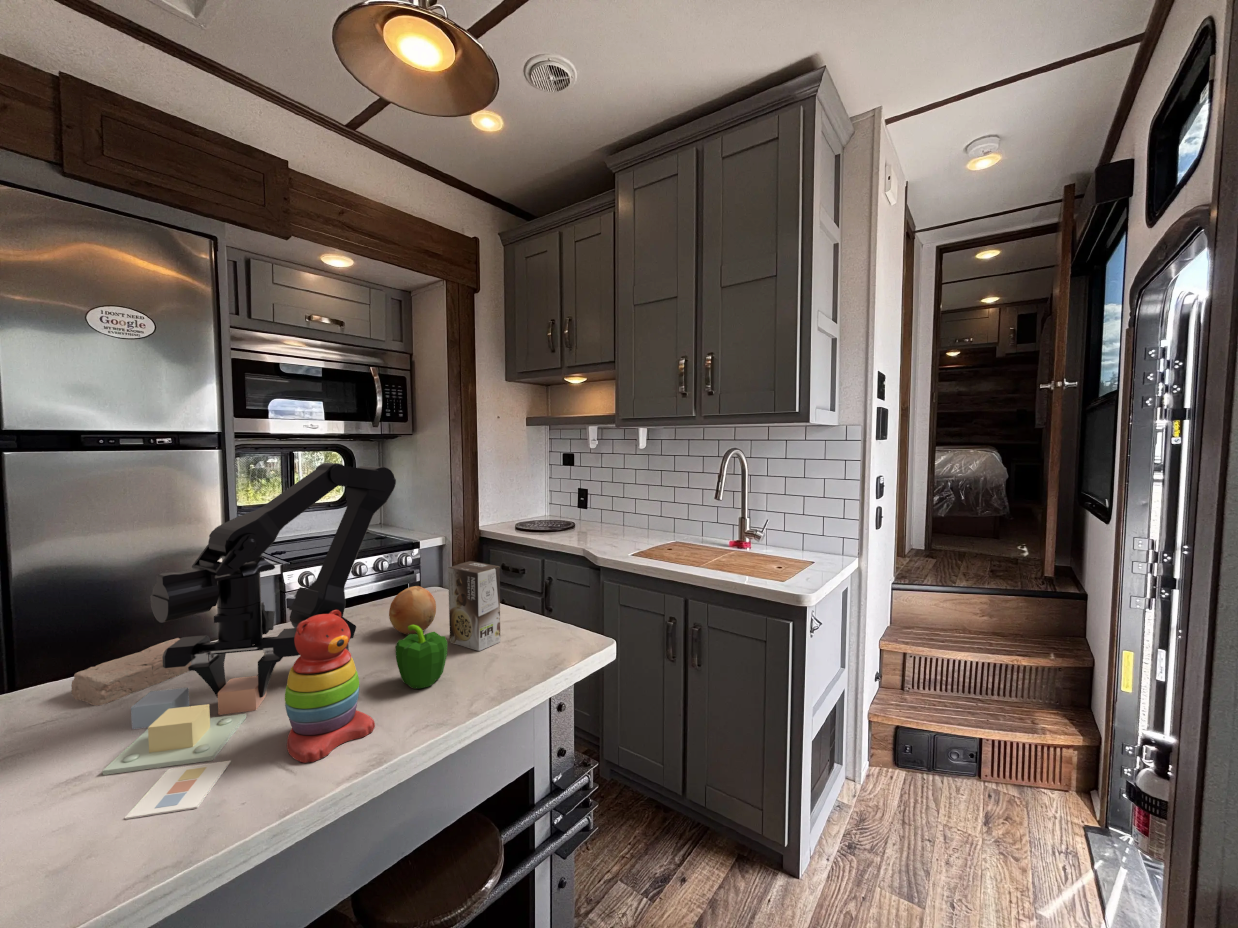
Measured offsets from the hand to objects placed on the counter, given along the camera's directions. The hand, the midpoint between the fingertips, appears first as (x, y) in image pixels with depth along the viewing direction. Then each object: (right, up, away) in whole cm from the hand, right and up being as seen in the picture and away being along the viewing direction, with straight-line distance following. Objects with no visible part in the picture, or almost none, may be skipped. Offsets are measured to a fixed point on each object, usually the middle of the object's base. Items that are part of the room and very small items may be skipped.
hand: (243, 698), depth 85 cm
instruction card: (+7, -2, -20) cm, 21 cm away
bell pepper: (+26, -1, +8) cm, 27 cm away
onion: (+15, +1, +31) cm, 35 cm away
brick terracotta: (0, -1, 0) cm, 1 cm away
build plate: (-1, -2, -11) cm, 11 cm away
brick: (-23, -1, +8) cm, 25 cm away
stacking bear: (+18, -2, -8) cm, 20 cm away
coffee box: (+30, 0, +26) cm, 40 cm away
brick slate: (-10, -1, -4) cm, 10 cm away
